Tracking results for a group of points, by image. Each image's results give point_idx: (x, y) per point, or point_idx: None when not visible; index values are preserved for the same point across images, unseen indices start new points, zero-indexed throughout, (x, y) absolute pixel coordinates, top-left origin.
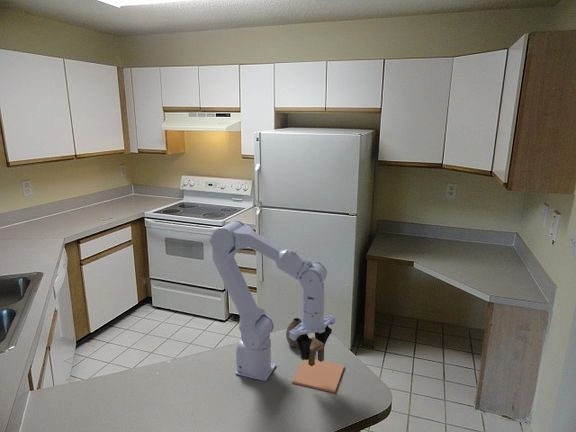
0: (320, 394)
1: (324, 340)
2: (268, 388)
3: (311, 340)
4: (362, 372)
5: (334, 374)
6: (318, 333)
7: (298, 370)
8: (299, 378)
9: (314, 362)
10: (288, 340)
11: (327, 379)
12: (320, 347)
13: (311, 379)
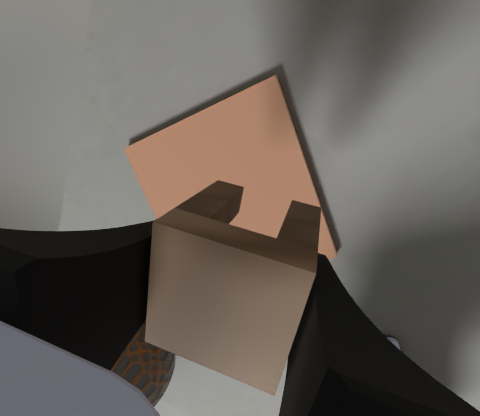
0: (326, 120)
1: (122, 241)
2: (426, 308)
3: (358, 378)
4: (101, 71)
5: (190, 146)
6: (99, 338)
7: None
8: None
9: (292, 206)
10: (171, 375)
11: (234, 149)
12: (206, 227)
13: (277, 201)
